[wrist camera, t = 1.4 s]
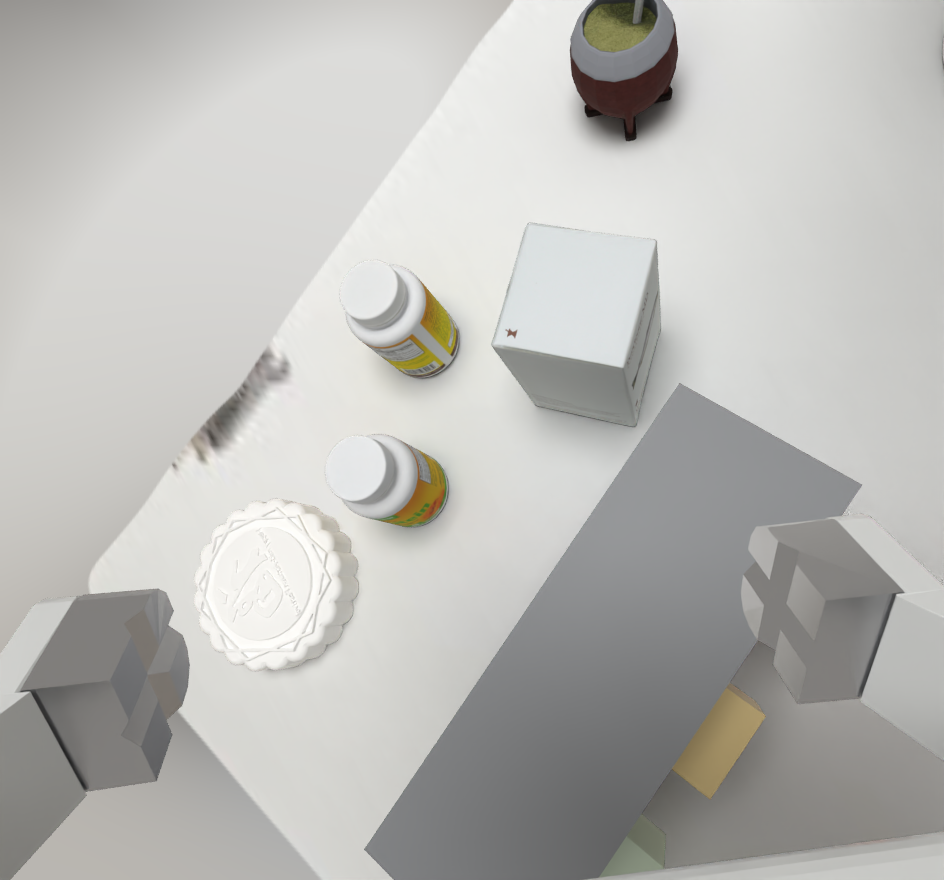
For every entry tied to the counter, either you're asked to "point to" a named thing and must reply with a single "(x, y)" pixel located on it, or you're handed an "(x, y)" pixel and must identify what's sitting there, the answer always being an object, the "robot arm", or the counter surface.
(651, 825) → the button sage
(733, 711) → the button ochre
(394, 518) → the supplement bottle
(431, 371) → the supplement bottle
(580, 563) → the console
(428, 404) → the counter surface
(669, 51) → the mate gourd
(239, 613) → the mooncake
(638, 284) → the supplement box
